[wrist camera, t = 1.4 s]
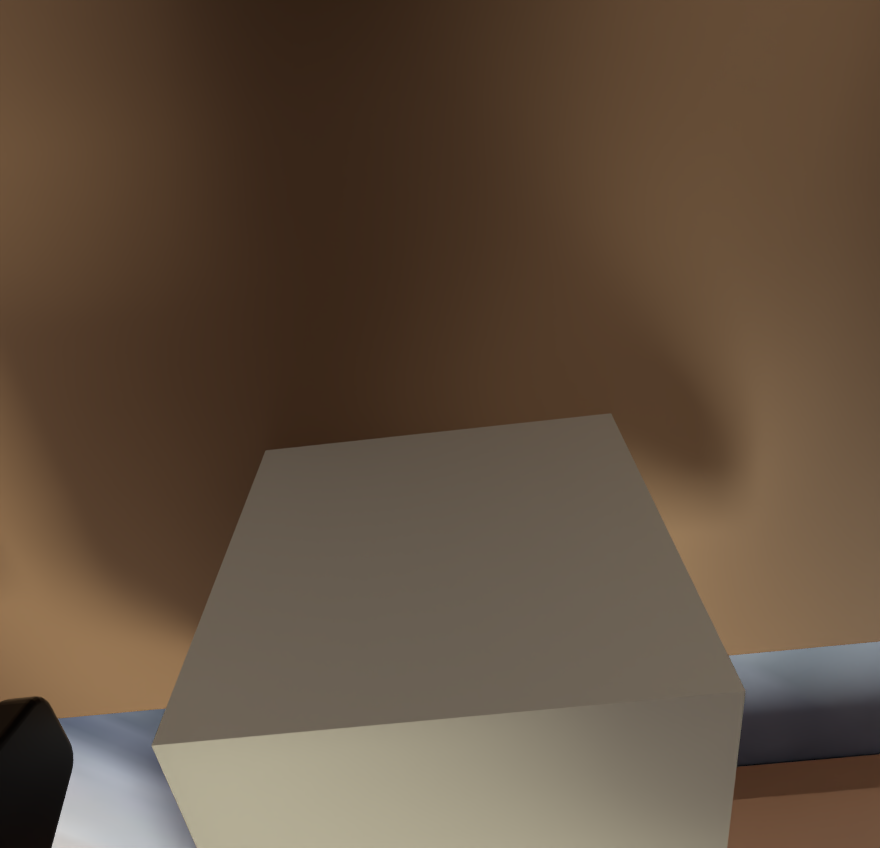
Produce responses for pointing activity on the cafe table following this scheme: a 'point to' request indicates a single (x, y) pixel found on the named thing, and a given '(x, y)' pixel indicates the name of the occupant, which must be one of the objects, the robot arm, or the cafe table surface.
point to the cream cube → (454, 655)
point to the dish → (807, 804)
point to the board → (429, 287)
